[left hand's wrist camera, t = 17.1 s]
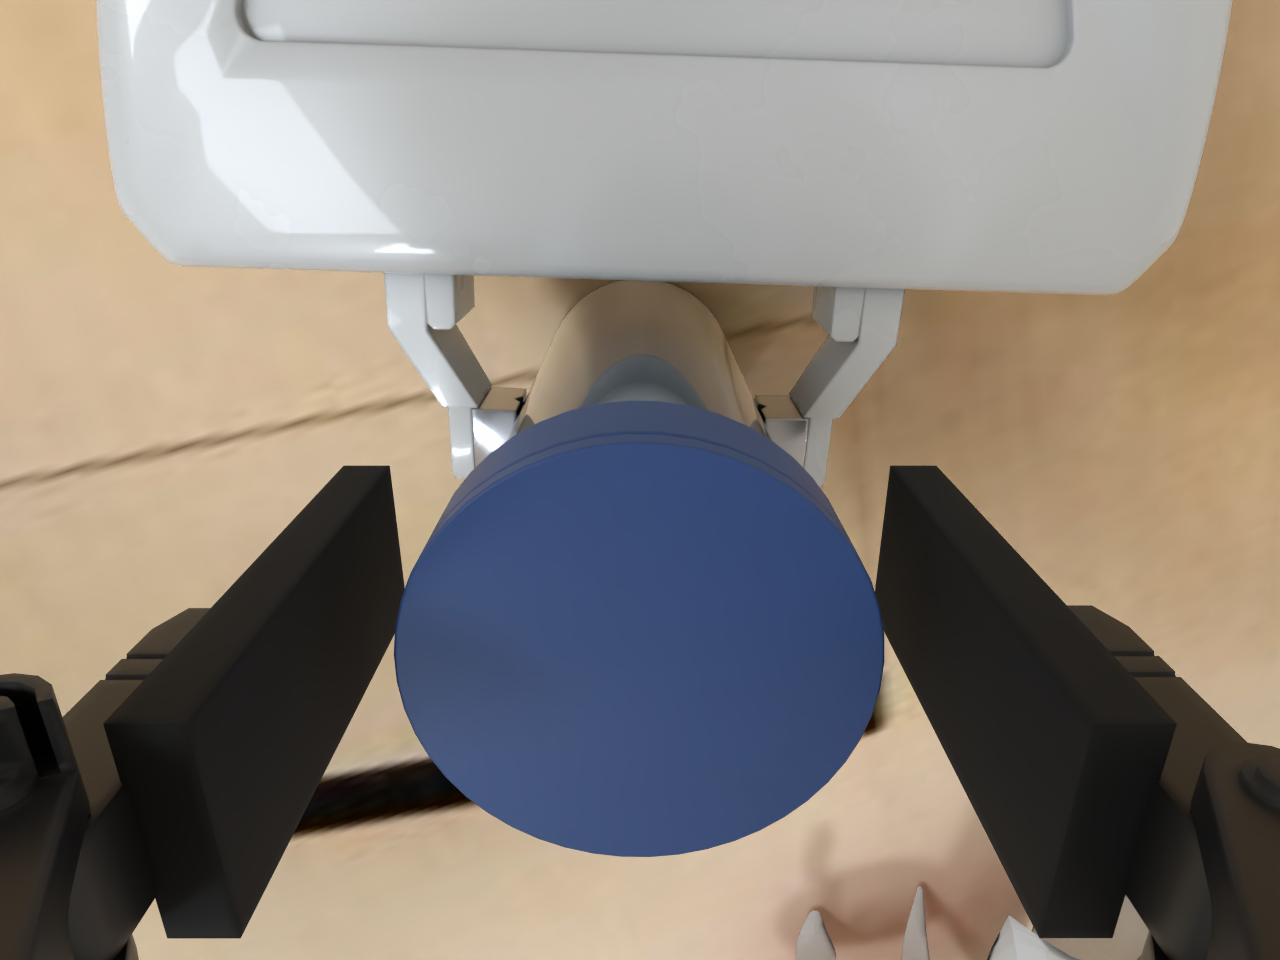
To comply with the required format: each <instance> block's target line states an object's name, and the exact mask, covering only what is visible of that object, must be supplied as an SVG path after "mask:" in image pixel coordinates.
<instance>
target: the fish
mask: <svg viewBox="0 0 1280 960" xmlns="http://www.w3.org/2000/svg"><path fill="white" fill-rule="evenodd" d="M1148 932H1149V930H1148V928H1147V927H1146V925H1145V923H1144V922H1143V920H1142V919H1141V917H1140V916H1139V914H1138V913H1137V911H1136V910H1135V908H1134V907H1133V905H1132V903H1131V902H1130V900H1129V899H1128V897H1127V896H1126V895H1125V898H1124V902H1123V905H1122V908H1121V912H1120V915H1119V918H1118V922H1117V925H1116V928H1115V932H1114V935H1113V938H1039V936H1038V934H1037V932H1036V930H1035V928H1034V926H1033V929H1032V931H1031V930H1029V929H1028V928H1026V927H1025V926H1024V925H1022V924H1021V923H1019V922H1018V921H1017V920H1015V919H1014V918H1012V917H1011V916H1010V915H1009V916H1008V918H1007V920H1006V921H1005V923H1004V925H1003V927H1002V929H1001V931H1000V933H999V935H998V937H997V939H996V941H995V942H994V944H993V946H992V949H991V951H990V954H989V956H988V959H987V960H1140V957H1141V954H1142V951H1143V948H1144V945H1145V942H1146V938H1147V935H1148ZM796 960H836V953H835V949H834V946H833V944H832V942H831V940H830V938H829V936H828V933H827V931H826V928H825V926H824V923H823V919H822V917H821V914H820V913H819V912H818V911H811V912H810V913H809V915H808V916H807V918H806V920H805V923H804V925H803V927H802V929H801V932H800V934H799V937H798V941H797V945H796ZM901 960H930V959H929V951H928V943H927V935H926V925H925V913H924V898H923V889H922V888H921V887H919V886H918V888H917V891H916V895H915V899H914V902H913V906H912V909H911V913H910V916H909V919H908V923H907V927H906V931H905V937H904V943H903V950H902V957H901Z"/></svg>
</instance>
